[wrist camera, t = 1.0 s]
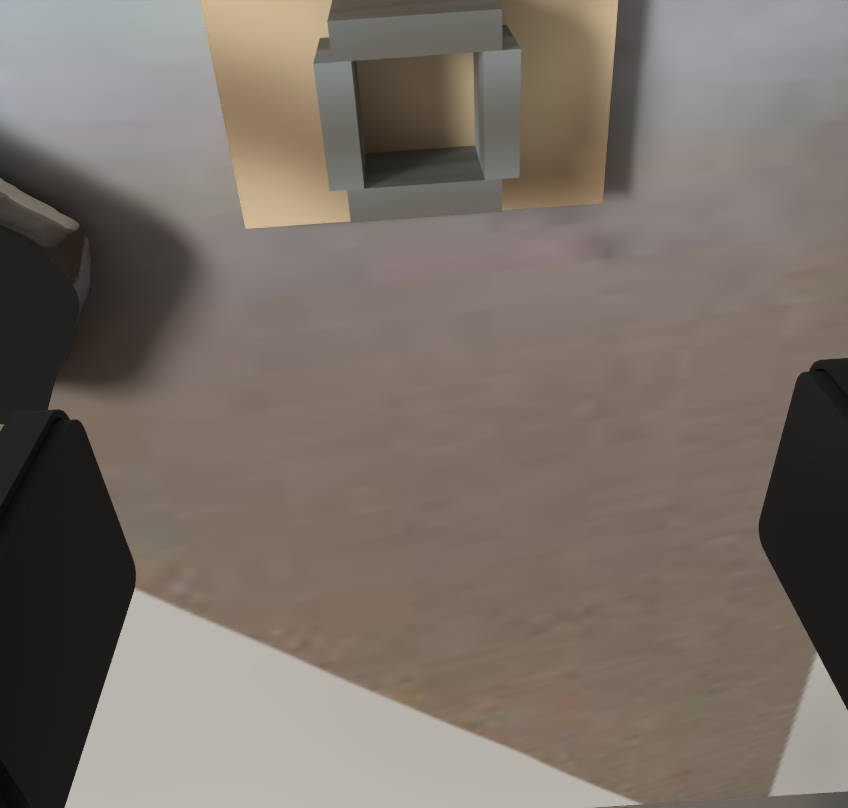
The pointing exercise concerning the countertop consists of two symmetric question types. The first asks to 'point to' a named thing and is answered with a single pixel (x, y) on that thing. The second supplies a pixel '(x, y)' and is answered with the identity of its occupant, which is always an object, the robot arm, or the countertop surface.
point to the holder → (412, 105)
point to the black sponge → (37, 297)
